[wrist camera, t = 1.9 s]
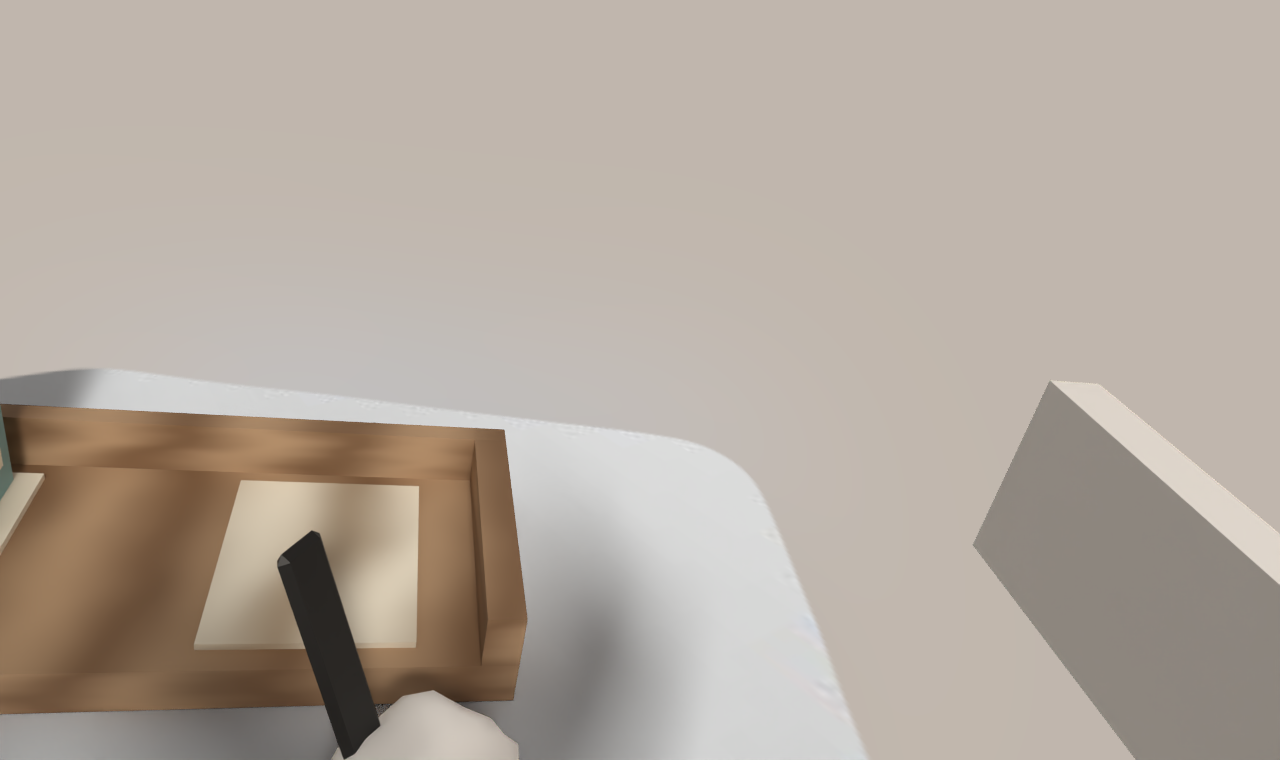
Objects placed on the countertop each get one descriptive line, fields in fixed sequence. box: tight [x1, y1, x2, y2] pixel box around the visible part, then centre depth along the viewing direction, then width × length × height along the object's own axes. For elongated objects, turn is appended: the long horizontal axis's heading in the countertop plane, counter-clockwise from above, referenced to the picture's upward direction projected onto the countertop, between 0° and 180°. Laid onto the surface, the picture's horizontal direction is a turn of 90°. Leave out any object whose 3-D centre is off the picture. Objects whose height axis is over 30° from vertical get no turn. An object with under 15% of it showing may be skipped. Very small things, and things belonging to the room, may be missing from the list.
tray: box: [0, 404, 527, 714], centre depth 37 cm, size 30×13×4 cm, turn 101°
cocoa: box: [277, 530, 519, 760], centre depth 27 cm, size 10×6×12 cm, turn 45°
